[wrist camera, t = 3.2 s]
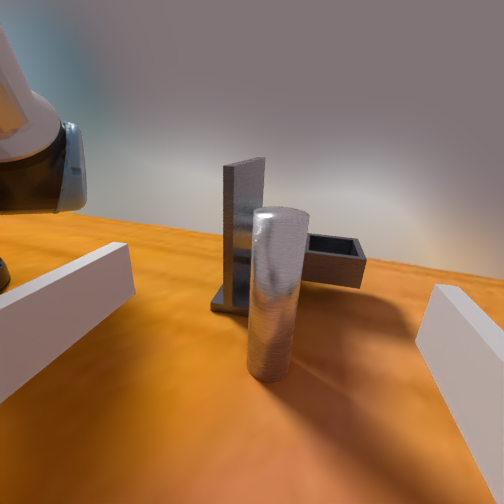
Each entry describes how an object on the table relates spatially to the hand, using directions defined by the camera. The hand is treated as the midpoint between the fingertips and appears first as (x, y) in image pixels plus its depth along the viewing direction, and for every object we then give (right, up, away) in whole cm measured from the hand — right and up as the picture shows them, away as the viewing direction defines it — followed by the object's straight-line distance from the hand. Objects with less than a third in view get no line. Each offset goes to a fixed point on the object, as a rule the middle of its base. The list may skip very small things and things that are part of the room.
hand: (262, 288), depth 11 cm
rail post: (+1, -10, +16) cm, 18 cm away
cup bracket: (+5, -4, +30) cm, 31 cm away
